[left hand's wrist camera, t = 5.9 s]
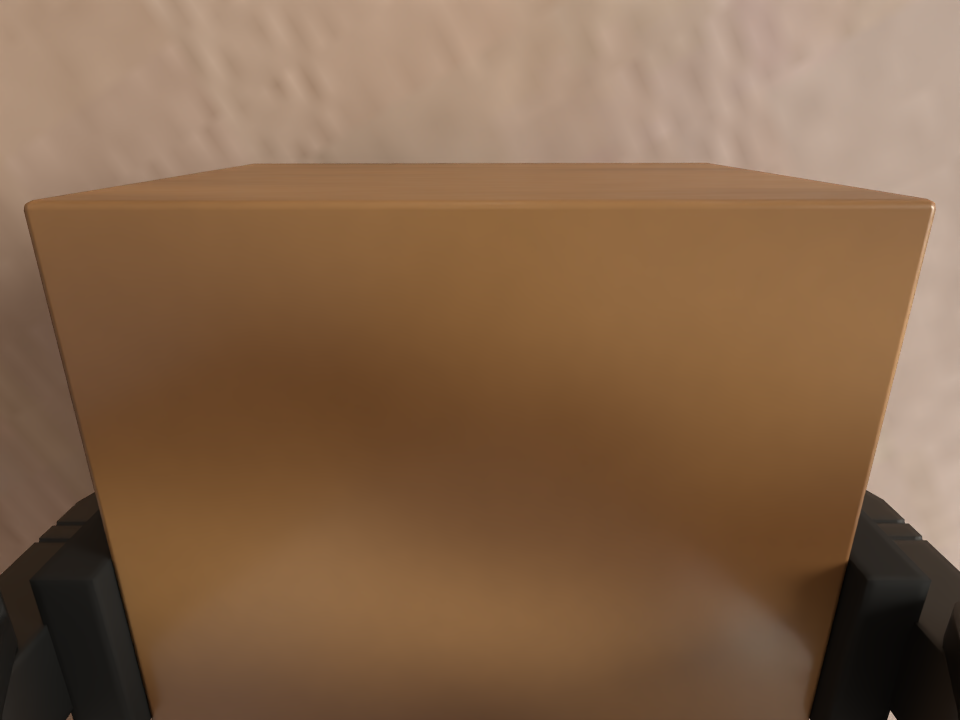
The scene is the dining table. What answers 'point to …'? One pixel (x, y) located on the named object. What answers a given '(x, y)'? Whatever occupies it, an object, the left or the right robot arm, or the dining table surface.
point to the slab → (480, 430)
